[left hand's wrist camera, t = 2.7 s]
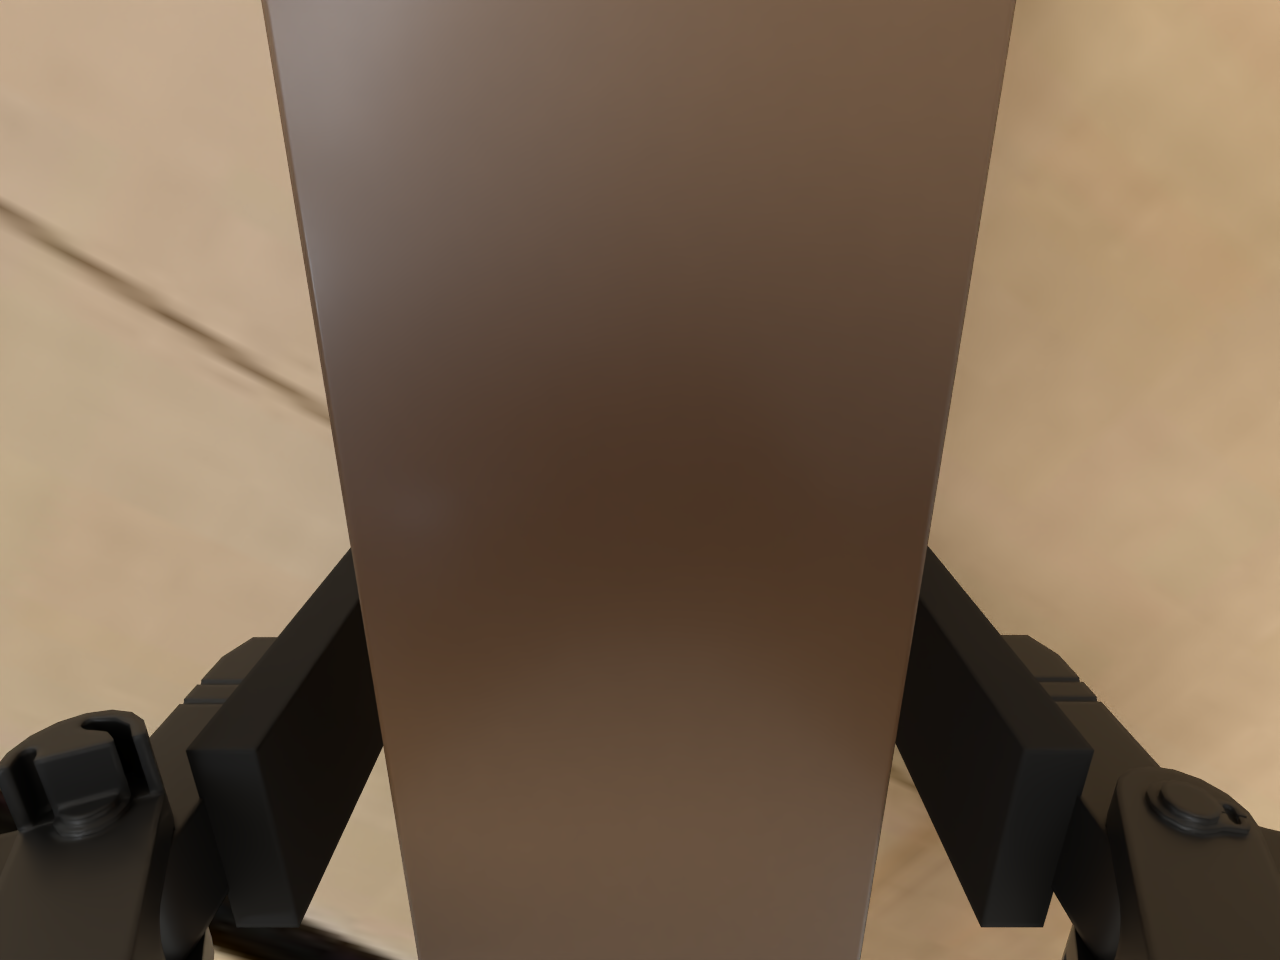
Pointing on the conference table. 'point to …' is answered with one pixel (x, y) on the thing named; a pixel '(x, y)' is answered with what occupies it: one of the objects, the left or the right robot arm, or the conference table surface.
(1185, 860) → the left robot arm
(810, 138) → the beam
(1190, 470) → the conference table surface
